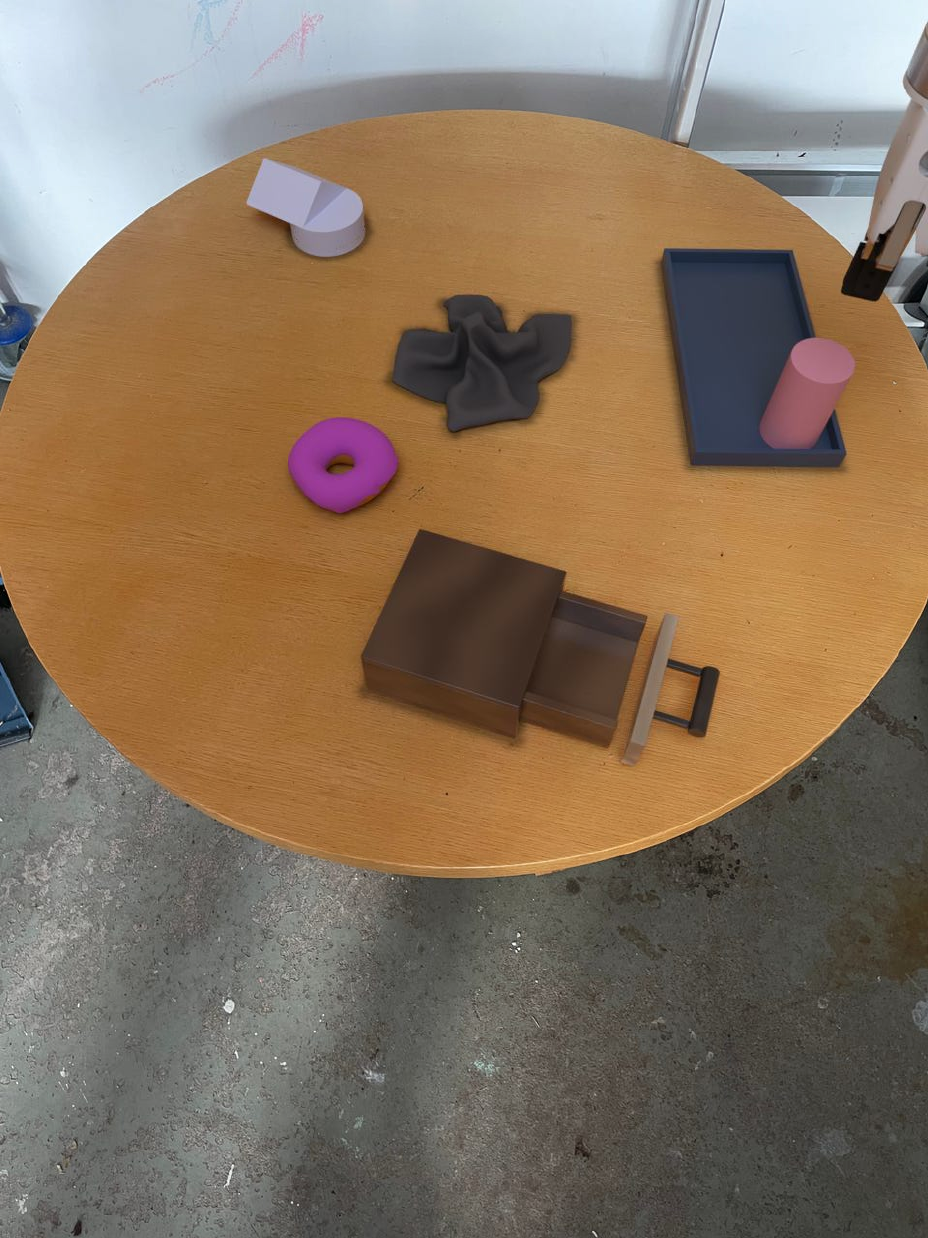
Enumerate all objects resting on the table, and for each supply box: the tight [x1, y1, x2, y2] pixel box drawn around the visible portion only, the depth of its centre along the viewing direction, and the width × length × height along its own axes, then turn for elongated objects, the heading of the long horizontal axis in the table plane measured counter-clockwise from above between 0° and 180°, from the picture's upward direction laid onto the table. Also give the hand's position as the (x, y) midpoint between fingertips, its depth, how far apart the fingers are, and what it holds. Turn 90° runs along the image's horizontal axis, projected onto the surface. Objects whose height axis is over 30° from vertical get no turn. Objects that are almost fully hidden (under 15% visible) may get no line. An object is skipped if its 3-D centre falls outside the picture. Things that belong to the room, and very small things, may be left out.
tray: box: [660, 247, 848, 468], centre depth 96 cm, size 31×15×2 cm, turn 179°
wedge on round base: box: [245, 157, 366, 258], centre depth 104 cm, size 9×7×13 cm
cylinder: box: [759, 337, 856, 449], centre depth 86 cm, size 6×6×10 cm
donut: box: [287, 416, 400, 514], centre depth 86 cm, size 10×10×5 cm
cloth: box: [390, 293, 572, 432], centre depth 94 cm, size 22×19×6 cm
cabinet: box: [360, 528, 567, 740], centre depth 75 cm, size 14×14×7 cm
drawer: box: [519, 590, 721, 768], centre depth 73 cm, size 17×12×5 cm
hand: (859, 291), depth 74 cm, fingers closed
